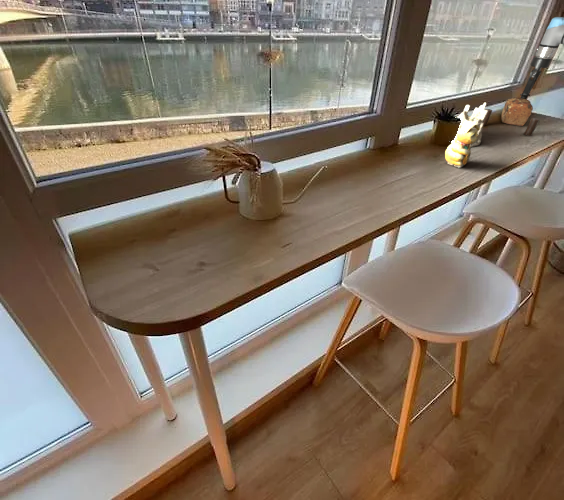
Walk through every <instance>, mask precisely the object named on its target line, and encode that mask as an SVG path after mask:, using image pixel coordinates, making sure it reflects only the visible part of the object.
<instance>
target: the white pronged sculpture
mask: <svg viewBox="0 0 564 500" xmlns="http://www.w3.org/2000/svg"><path fill="white" fill-rule="evenodd" d="M486 106H487V102H484V103H483V104H481V105H480V106H479V107H475V108H474V110H473V112H472V114H471V115H469V114H468V113H469V111H470V107H471V105H470V104H466V105H465V107H464V109H463V111H462V112H460V114H458V115H457V116H456V117H458V118H460V120H461V123H460V125H459V128H458V131H459V130H460V129H461V128H463V127H467V126H468V125H469V124H470V123H472V122H474V121H477V123H476V124H477V125H480V130H478V133H477V134H478V139H477V140H476V141H475V142H473V143H472V144H470V145H471V148H472V147H476V146H479V145H481V142H482V137H483V127H484V126H483V123H484V119H485V116H486V113H487V111H488V110H485V109H486ZM476 124H475V125H476ZM458 131H457V133H458ZM456 139H457V134H456V136H455V138H454V140H452V141H451V142H450V143H451V144H452V143H453V142H455V140H456Z"/></svg>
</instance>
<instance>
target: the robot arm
mask: <svg viewBox="0 0 564 500" xmlns="http://www.w3.org/2000/svg"><path fill="white" fill-rule="evenodd" d="M560 45H564V16H555V17H553V18H552V19H551V20H550V22H549V24H548V26H547V28H546V30H545V32H544V34H543V36H542V39H541V41H540V43H539V45H538V47H537V48H536V49H535V51H536V52H535V55H534V57H533V58H532V60H531V62H530V66H531V67H534V69H532V70H531V71H530V73H529V76H528V79H527V82H526V84H525V87H524V88H523V91H522V93H520V95H519V96H520V98H523V99H527V100H528V98H529V97H530V96H531V91H532V89H533V87H534V86H535V83H536V82H537V81H538V79H539V77H540V75H541V74H542V69H546V68H549V67H550V64H551V62H552V61H553V59H552V58H554V57H555V55H556V54H557V53H556V52H557V51H558V49H559V46H560Z"/></svg>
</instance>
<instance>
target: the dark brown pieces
mask: <svg viewBox="0 0 564 500" xmlns="http://www.w3.org/2000/svg"><path fill="white" fill-rule="evenodd" d="M485 110H488V111H487V113H486V116H485V119H484V123H483V127H486V126H487V125H488V122H489V120H490V118H491V115H492V113H493V110H492V109H491V108H485ZM539 122H540V118H537V117H532V118H531V119H530V121H529V123H528V125H527V126H526V128H525V131H524V133H523V135H524V136H527V137H531V136H533V134H534V132H535V129H536V128H537V125H538V124H539Z"/></svg>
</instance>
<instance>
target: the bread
mask: <svg viewBox="0 0 564 500" xmlns="http://www.w3.org/2000/svg"><path fill="white" fill-rule="evenodd" d="M533 109H534V108H533V105H532V103H531V101H530V100H529V99H528V98H527V99H523V98H521V97H512V98H508V99H506V100H505V103H504V106H503V108H502V111H501V122H502V123H504V124H507V125H512V126H518V127H523V126H524V125H525V124H526V123H527V122H528V120H529V118H530V116H531V115H532V112H533Z"/></svg>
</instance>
